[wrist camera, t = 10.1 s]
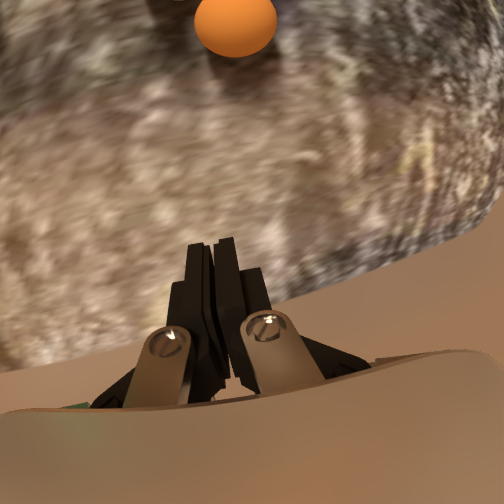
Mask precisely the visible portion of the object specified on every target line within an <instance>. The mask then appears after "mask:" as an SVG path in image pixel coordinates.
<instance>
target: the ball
mask: <svg viewBox="0 0 504 504" xmlns="http://www.w3.org/2000/svg"><path fill="white" fill-rule="evenodd" d="M194 25H195V30H196V33H197V36H198V38H199V39H200V41H201V42H202V43H203V45H204V46H206V47H207V48H208V49H209V50H211V51H212V52H214V53H216V54H219V55H222V56H226V57H244V56H248V55H251V54H253V53H256V52H258V51H259V50H261V49H262V48H263V47H265V46H266V45H267V44H268V43H269V42H270V40H271V39H272V37H273V35H274V33H275V30H276V26H277V15H276V11H275V9H274V7H273V5H272V3H271V2H270V0H203V1H202V2H201V3H200V5H199V7H198V9H197V11H196V14H195V21H194Z"/></svg>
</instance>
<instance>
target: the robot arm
mask: <svg viewBox="0 0 504 504" xmlns="http://www.w3.org/2000/svg"><path fill="white" fill-rule="evenodd" d="M228 354H229V356H228ZM229 357H230V361H231V365H232V368H233V372H234V375H235V377H239V378H240V381H241V385H243V386H245V387H246V388H248V389H250V390H252V391H254V393H255V395H250V396H244V397H237V398H231V399H224V400H217V401H215V397H214V395H215V394H216V393H217V392H218V391H219V390H220V389H225V388H226V385H225V379H229V378H230V377H231V376H230V366H229ZM0 504H504V366H503V365H502V364H500V363H499V362H498V361H497V360H496V359H495V358H493V357H491V356H490V355H489V354H486V353H484V352H481V351H476V350H467V349H459V350H458V349H457V350H456V349H455V350H442V351H434V352H427V353H419V354H412V355H405V356H396V357H387V358H377V359H375V362H372V363H367V362H366V361H365V360H363V359H361V358H359V357H357V356H354V355H351V354H348V353H345V352H343V351H340V350H338V349H335V348H332V347H330V346H327V345H324V344H321V343H319V342H316V341H314V340H311V339H309V338H306V337H304V336H301V335H299V334H298V332H297V330H296V329H295V327H294V325H293V324H292V322H291V320H290V319H289V318H288V316H287V315H285V314H283V313H281V312H278V311H275V310H272V308H271V304H270V301H269V297H268V293H267V290H266V286H265V283H264V279H263V275H262V272H261V268H260V267H258V268H252V269H247V270H241V271H239V266H238V260H237V255H236V249H235V244H234V239H233V237H229V238H224V239H219V243H218V244H214V263H213V258H212V254H211V250H210V246H209V245H207V246H204V244H203V242H202V243H196V244H191V245H188V250H187V259H186V269H185V279H184V281H178V282H173V283H172V287H171V293H170V300H169V308H168V315H167V323H166V327H163V328H160V329H158V330H156V331H154V332H153V333H152V334H151V335H150V336H149V337H148V338H147V339H146V341H145V343H144V345H143V348H142V351H141V354H140V357H139V359H138V362H137V365H136V367H135V368H134V369H132V370H131V371H130V372H128V373H127V374H126V375H125V376H124V377H122V378H121V379H120V380H119V381H117V382H116V383H115V384H114V385H112V386H111V387H110V388H108V389H107V390H106V391H105V392H103V393H102V394H101V395H100V396H98V397H97V398H96V399H95V400H94V402H93V403H92V405H90V404H89V403H88V402H85V403H81V404H76V405H72V406H67V407H62V408H32V409H21V410H14V411H9V412H6V413H4V414H0Z"/></svg>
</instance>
